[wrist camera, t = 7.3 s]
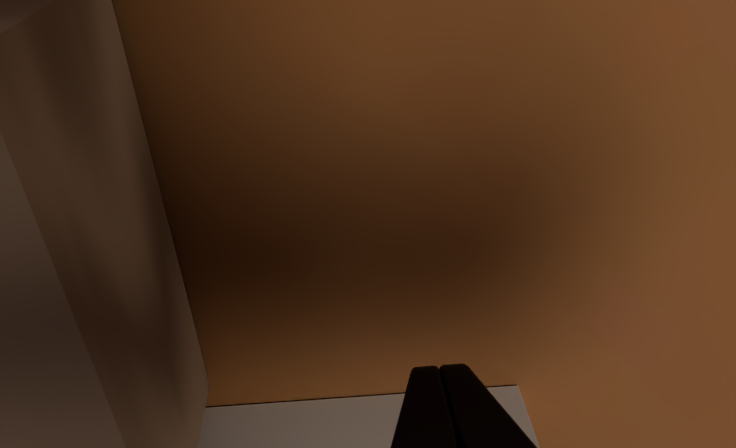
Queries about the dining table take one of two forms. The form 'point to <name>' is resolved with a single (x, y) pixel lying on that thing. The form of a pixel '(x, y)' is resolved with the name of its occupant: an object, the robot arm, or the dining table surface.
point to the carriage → (86, 247)
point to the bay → (326, 422)
